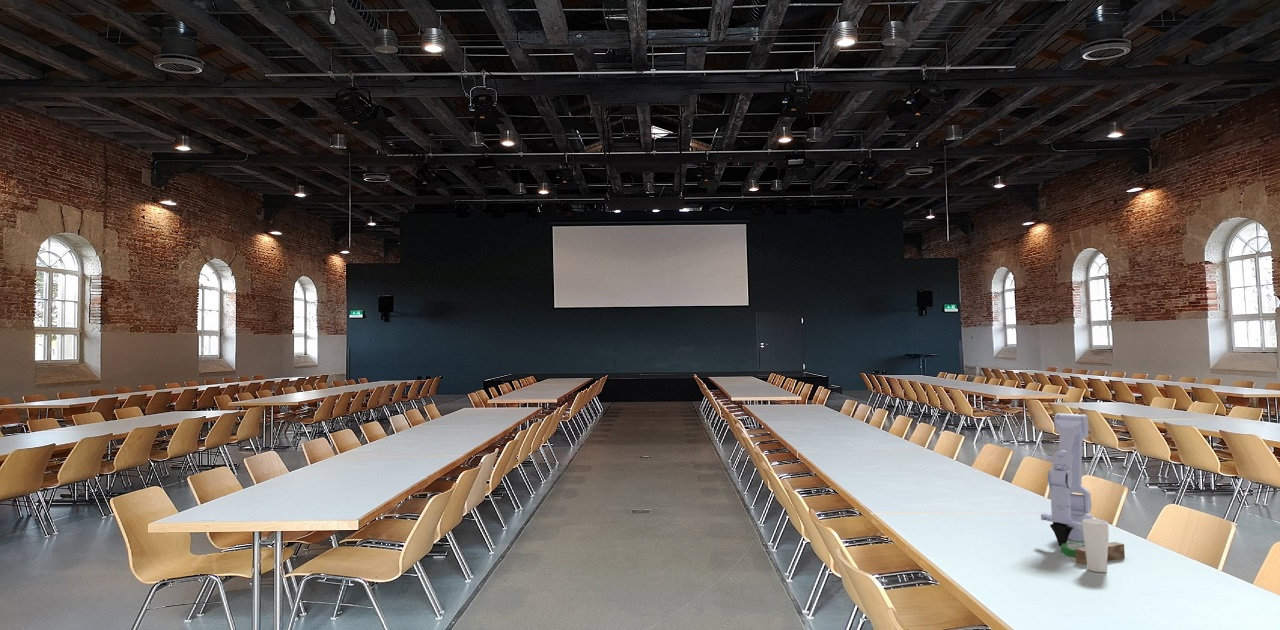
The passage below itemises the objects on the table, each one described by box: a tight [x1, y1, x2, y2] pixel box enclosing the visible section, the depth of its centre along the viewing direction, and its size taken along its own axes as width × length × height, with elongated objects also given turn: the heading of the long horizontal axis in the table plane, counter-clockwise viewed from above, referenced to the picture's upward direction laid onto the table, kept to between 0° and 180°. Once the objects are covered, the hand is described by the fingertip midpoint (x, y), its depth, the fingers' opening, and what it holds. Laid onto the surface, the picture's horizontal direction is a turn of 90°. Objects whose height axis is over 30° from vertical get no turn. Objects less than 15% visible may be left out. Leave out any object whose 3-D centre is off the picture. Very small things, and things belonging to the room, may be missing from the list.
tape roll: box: [1060, 542, 1085, 559], centre depth 239 cm, size 11×11×3 cm
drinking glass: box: [1083, 518, 1110, 573], centre depth 223 cm, size 7×7×15 cm
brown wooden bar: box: [1075, 541, 1126, 566], centre depth 232 cm, size 18×3×4 cm, turn 110°
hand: (1062, 545), depth 245 cm, fingers closed
